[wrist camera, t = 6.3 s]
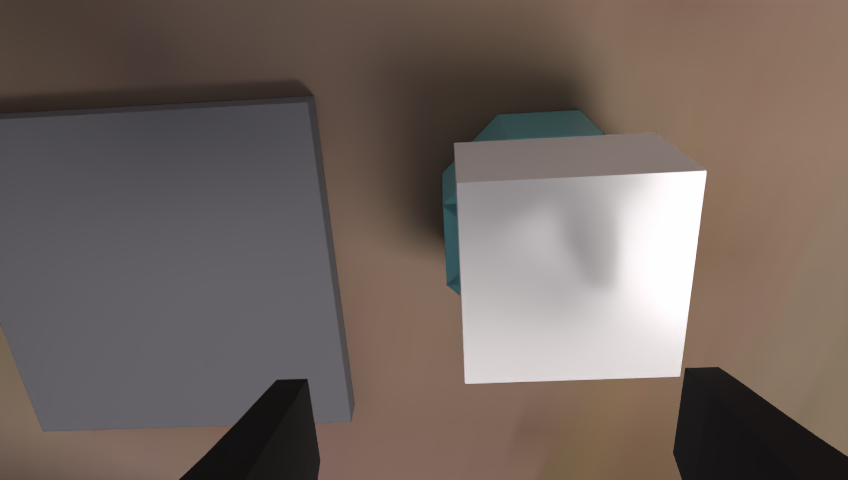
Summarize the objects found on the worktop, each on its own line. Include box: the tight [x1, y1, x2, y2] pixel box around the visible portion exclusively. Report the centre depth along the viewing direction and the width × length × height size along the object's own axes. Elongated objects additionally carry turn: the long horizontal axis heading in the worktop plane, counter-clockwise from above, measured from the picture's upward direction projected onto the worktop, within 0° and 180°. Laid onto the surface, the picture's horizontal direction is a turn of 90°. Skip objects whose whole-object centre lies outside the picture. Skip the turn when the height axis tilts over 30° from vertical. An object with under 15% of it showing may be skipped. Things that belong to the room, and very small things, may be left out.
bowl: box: [442, 110, 605, 295], centre depth 19 cm, size 6×6×3 cm
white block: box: [454, 132, 707, 384], centre depth 16 cm, size 5×5×3 cm
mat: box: [0, 96, 355, 431], centre depth 21 cm, size 12×12×1 cm
